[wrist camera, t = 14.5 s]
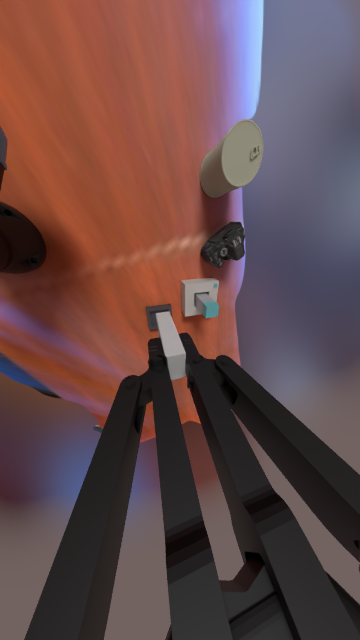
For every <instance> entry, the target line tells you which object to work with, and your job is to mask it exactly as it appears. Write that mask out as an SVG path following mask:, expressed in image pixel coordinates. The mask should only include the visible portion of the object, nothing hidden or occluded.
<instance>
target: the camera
mask: <svg viewBox="0 0 360 640" xmlns="http://www.w3.org/2000/svg"><path fill="white" fill-rule="evenodd" d="M244 238H245V233H244V228H243V227H242V224H241V222H230V223H229V224H228V225H226V226H225V227H224V228H222V229H221V230H220V231H219V232H217V233H216V234H215V235H214V236H212V237H211V238H210V239H209V240H208V241H207V242H206V244H205V245H204V246H203V247H202V249H201V255H202V257H203V259H204V260H205V261H206V262H207V263H209V264H211V265H213V266H216V267H222V265H223V259H224V260H228V259H233V260H239V259H240V258H242V257H243V256H244V254H245V251H244Z"/></svg>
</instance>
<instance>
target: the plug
mask: <svg viewBox="0 0 360 640" xmlns="http://www.w3.org/2000/svg"><path fill="white" fill-rule="evenodd" d="M194 304H195V305H196V307H197V308H198V309H199V310H200V312H201V313H202V314H203V316H204V317H205V318H211V317H217V316H218V310H219V304H218V303H217V302H215V301H214V300H213V299H212V298H211V297H210V296H209V295H208V294H206V293H205V292H201V293H194Z"/></svg>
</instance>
